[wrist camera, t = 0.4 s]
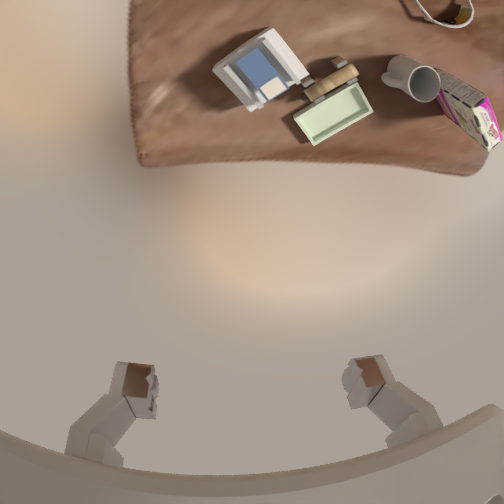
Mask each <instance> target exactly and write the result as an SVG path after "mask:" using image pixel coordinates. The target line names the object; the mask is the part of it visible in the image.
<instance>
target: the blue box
mask: <svg viewBox="0 0 504 504" xmlns="http://www.w3.org/2000/svg"><path fill="white" fill-rule="evenodd" d="M236 64H237V65H238V66H239V68H240V69H241V70H242V71H243V72H244V74H245V75H246V76H247V77H248V78H249V80H250V81H251V82H252V83H253V84H254V86H255V87H256V88H257V89H258V91H259V92H260V93H261V94H262V96H263V97H264V98H265V99H266V101H267V102H269V101H271V100H272V99H274V98H275V97H277V96H278V95H280V94H282V93H283V92H285V91H286V90H288V89H289V86H288V85H287V84H286V82H285V81H284V80H283V79H282V77H281V76H280V75H279V73H278V72H277V71H276V70H275V68H274V67H273V66H272V65H271V63H270V62H269V61H268V60H267V59H266V57H265V56H264V55H263V54H262V53H261V51H260V50H259V49H258V48H256V49H255V50H253V51H252V52H250V53H249V54H247V55H246V56H244V57H243V58H241V59H240V60H239V61H237V62H236Z"/></svg>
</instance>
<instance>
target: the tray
mask: <svg viewBox="0 0 504 504" xmlns="http://www.w3.org/2000/svg"><path fill="white" fill-rule="evenodd" d="M324 97H325V99H323V100H322V101H320V102H318V103H315V102H313V103H311V104H310V105H308V106H306V107H305V108H303V109H302V110H300V111H298V112H297V113H295V114H293V115H292V116H293V118H294V120H295V121H296V122H297V124H298V125H299V126H300V128H301V129H302V130H303V132H304V133H305V135H306V136H307V137H308V139H309V140H310V141H311V143H312V144H313V146H315V145H316V144H318V143H320V142H321V141H323V140H325V139H326V138H328V137H330V136H332V135H333V134H335V133H337V132H339V131H340V130H342V129H344V128H346V127H347V126H349V125H351V124H353V123H354V122H356V121H358V120H360V119H362V118H363V117H365V116H367V115H369V114H371V113H373V110H372V108H371V106H370V104H369V102H368V100H367V98H366V97H365V95H364V93H363V91H362V89H361V88H360V86H359V84H358V82H356V81H355V82H353V83H352V84H350V85H348V84H347V83H346V84H344V85H343V86H341V87H339V88H337V89H335V90H334V91H332V92H330V93H328V94H327V95H325V96H324Z"/></svg>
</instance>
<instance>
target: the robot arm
mask: <svg viewBox="0 0 504 504" xmlns="http://www.w3.org/2000/svg"><path fill="white" fill-rule="evenodd" d="M348 366H349V367H348V368H347V369H345V370H344V373H343V375H342V383H343V387H344V389H345V390H346V391H347V392H348V393H349V394H348V396H347V398H348V401H349V404H350V407H351V409H356V408H361V407H366V406H368V408H369V409H370V410H371V411H372V412H373V413H374V414H375V415H376V416H377V417H378V418H380V420H382V421H383V422H384V423H385V424H386V425H387V426H388V427H389V428H390V429H391V430H392V431H393V432H392V433H391V434H390V435H389V436H388V437H387V438H386V443H387V446H388V449H384V450H381V451H378V452H374V453H371V454H368V455H364V456H360V457H356V458H352V459H348V460H345V461H340V462H335V463H331V464H326V465H320V466H315V467H309V468H303V469H297V470H289V471H281V472H272V473H262V474H248V475H183V474H169V473H159V472H150V471H141V470H135V469H128V468H123V459H124V458H123V457H122V455H121V454H120V453H119V452H118V451H117V450H116V449H115V448H114V446H115V445H116V444H117V442H118V441H119V440H120V438H121V437H122V436H123V435H124V434H125V432H126V431H127V430H128V428H129V427H130V426H131V425H132V424H133V422H134V421H135V420H136V418H143V419H156V410H157V405H156V402H155V399H156V398H157V397H158V378H157V376H156V375H155V368H154V365H147V364H137V363H128V362H119V361H118V362H117V363H116V366H115V369H114V373H113V377H112V381H111V385H110V390H109V394H105V395H104V396H103V397H101V398H100V399H99V400H98V401H97V402H96V403H95V404H94V405H93V406H92V407H91V408H90V409H89V410H88V411H87V412H86V413H85V414H83V415H82V416H81V417H80V418H79V419H78V420H77V421H76V422H75V423H74V424H73V425H72V426H71V427H70V430H69V435H68V439H67V444H66V449H65V454H63V453H59V452H56V451H53V450H50V449H47V448H44V447H41V446H38V445H36V444H32V443H30V442H28V441H25V440H22V439H20V438H18V437H15V436H13V435H10V434H8V433H6V432H4V431H1V430H0V504H504V410H503V409H501V408H499V407H498V406H496V405H494V404H488V405H486V406H484V407H482V408H480V409H478V410H477V411H475V412H473V413H471V414H469V415H467V416H465V417H463V418H461V419H459V420H457V421H455V422H453V423H451V424H449V425H447V426H444V427H443V424H442V423H441V420H440V418H439V416H438V414H437V412H436V410H435V408H434V406H433V405H432V404H430V403H429V402H427V401H426V400H425V399H423V398H422V397H420V396H419V395H417V394H416V393H414V392H413V391H412V390H410V389H409V388H407V387H406V386H405V385H403V384H402V383H400V382H396V380H395V378H394V376H393V374H392V372H391V370H390V368H389V366H388V364H387V362H386V360H385V358H384V356H383V355H374V356H366V357H360V358H354V359H351V360H350V361H349V363H348Z"/></svg>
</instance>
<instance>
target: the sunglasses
mask: <svg viewBox="0 0 504 504" xmlns="http://www.w3.org/2000/svg"><path fill="white" fill-rule="evenodd" d="M415 1H416V2H417V4H418V5H419V7H420V9H421V11H422V12H423V14H424V15H425V16H426V17H427V18H426V17H424V19H425V20H427V21H430V22H432V23H434V24H437V25H440V26H444V27H450V28H461V27H464V26H466V25H468V24H469V23H470V22H471V20H472V19H473V15H474V9H473V6H472V3H471V1H470V0H467V3H468V5H469V6H461V8H460V11H459V14H458V15H457V17H456V18H452V21H453V22H454V23H451V22H449V21H447V20H444V22H442V23H440V22H438V21H436V20H434V19H432V18H431V16H429V14H428V13H427V12H426V11H425V9H424V8H423V7H422V6H421V4H420V3H419V2H418V0H415Z"/></svg>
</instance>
